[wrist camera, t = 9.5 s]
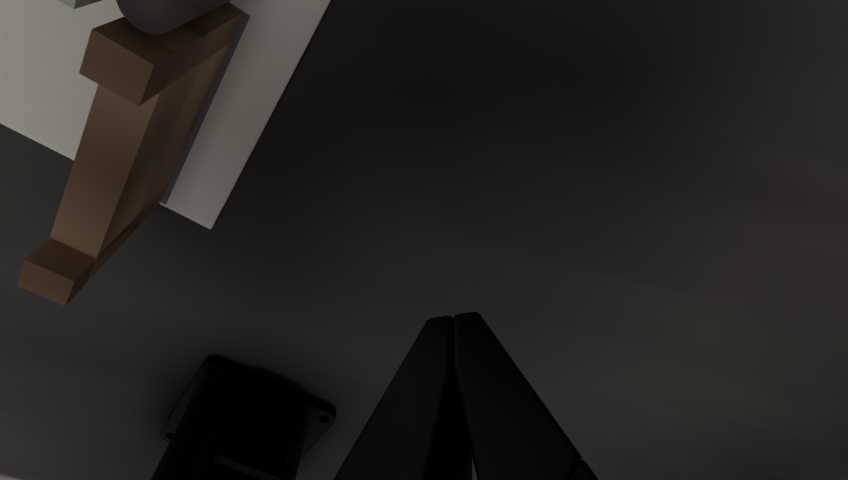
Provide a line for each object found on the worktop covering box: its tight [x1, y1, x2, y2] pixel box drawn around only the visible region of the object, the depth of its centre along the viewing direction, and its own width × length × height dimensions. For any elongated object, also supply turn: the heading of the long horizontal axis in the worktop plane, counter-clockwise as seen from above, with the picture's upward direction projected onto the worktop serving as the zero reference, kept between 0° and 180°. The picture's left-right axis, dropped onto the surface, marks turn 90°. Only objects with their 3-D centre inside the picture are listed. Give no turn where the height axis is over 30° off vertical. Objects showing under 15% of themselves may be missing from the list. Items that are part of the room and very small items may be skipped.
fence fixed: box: [17, 0, 244, 306], centre depth 14 cm, size 9×1×6 cm, turn 146°
